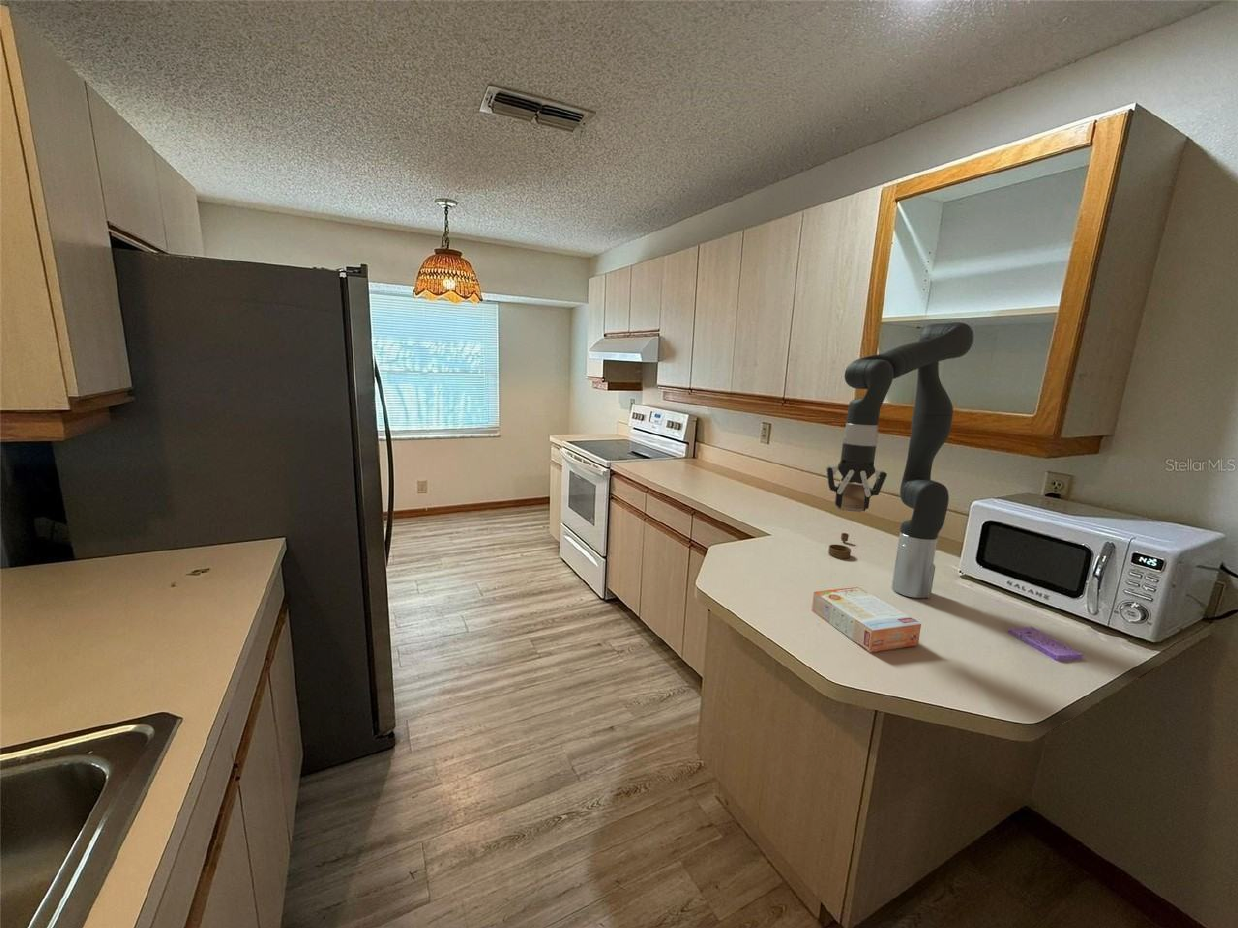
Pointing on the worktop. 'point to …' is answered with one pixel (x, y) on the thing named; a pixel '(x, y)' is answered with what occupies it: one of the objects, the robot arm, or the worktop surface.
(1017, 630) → the sponges
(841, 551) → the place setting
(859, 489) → the walnut block
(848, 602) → the cracker box
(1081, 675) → the worktop surface
